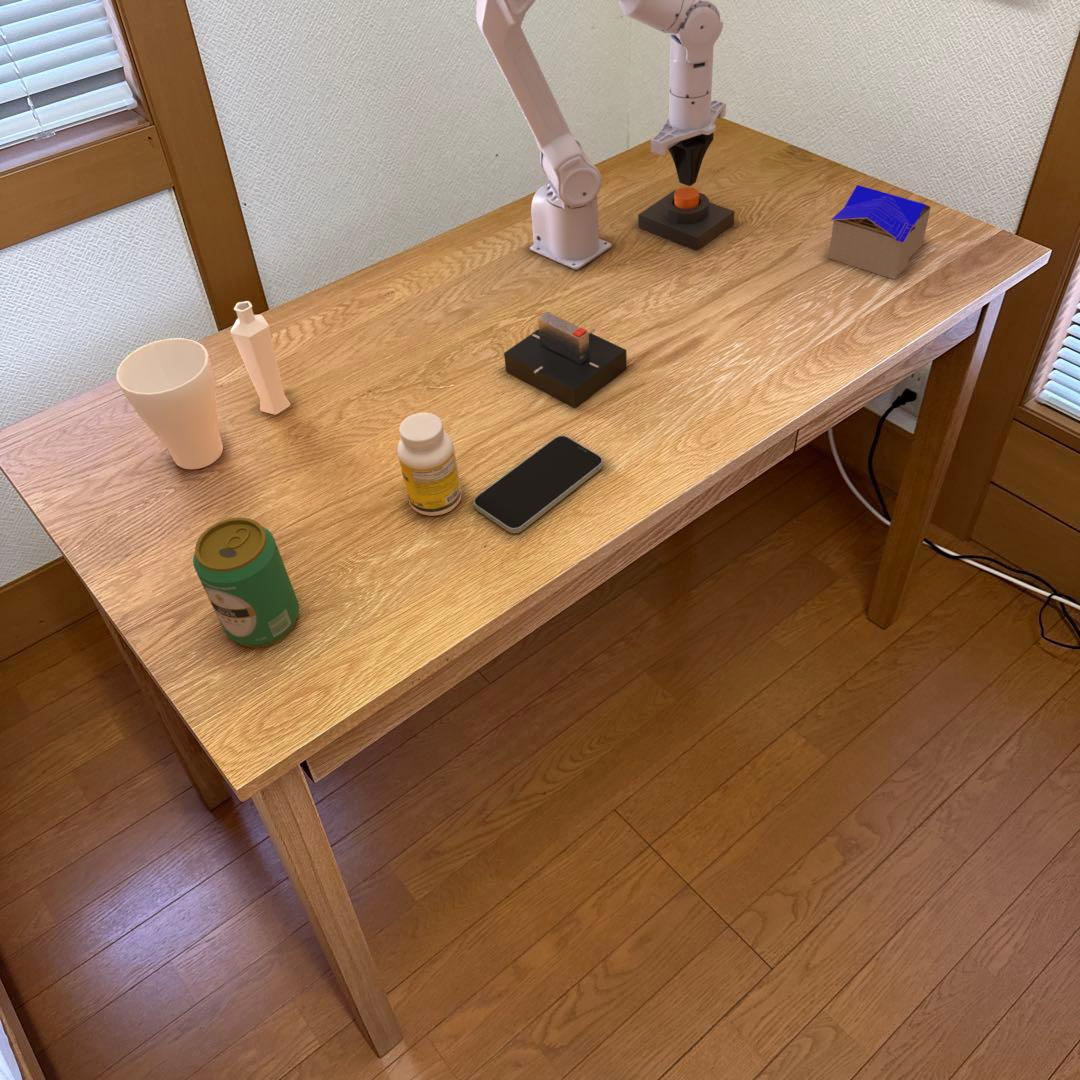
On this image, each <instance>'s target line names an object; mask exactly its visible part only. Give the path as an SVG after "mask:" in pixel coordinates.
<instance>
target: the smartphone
mask: <svg viewBox="0 0 1080 1080" xmlns="http://www.w3.org/2000/svg"><path fill="white" fill-rule="evenodd" d="M603 467H604V461H603V457H602V456H601V455H599V454H598V453H596V452H594V451H593V450H591V449H589V448H588V447H586V446H584V445H583V444H582V443H579V442H577V441H576V440H574V439H573V438H571V437H569V436H567V435H558V436H556V437H553V439H551V440H549V441H548V442H547V443H545V444H544V445H543V446H542V447H540V448H539V449H537V450H536V451H535V452H534V453H532V454H531V455H530V456H528V457H527V458H525V459H524V460H523V461H521V462H520V463H519V464H517V465H516V466H515V467H514V468H512V469H511V470H509V471H508V472H507V473H506V474H504V475H503V476H502V477H500V478H499V479H497V480H496V481H495V482H493V483H492V484H491V485H489V486H488V487H486V488H485V489H483V491H482V492H479V494H478V495H476V496H475V497H474V499H473V505H474V509H475V510H476V511H477V512H478V513H480V514H481V515H483V516H484V517H485V518H487V519H489V520H491V521H492V522H493V523H494V524H496V525H498V526H499V527H500V528H502V529H504V530H505V531H506V532H508V533H510V534H519V533H522V532H524V530H525V529H527V528H528V527H530V526H531V525H532V524H533V523H534V522H536V521H537V520H538V519H539V518H542V516H543V515H544V514H546V513H547V512H548V511H550V510H551V509H553V508H554V507H555V506H556V505H557V504H559V503H560V502H562V500H564V499H565V498H566V497H568V496H570V494H571V493H573V492H574V491H575V490H577V488H579V487H580V486H582V484H584V483H586V482H587V481H588V480H589V479H590V478H591V477H593V476H594V475H596V473H598V472H599V471H600V470H602V468H603Z"/></svg>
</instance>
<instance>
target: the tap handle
mask: <svg viewBox="0 0 1080 1080" xmlns="http://www.w3.org/2000/svg"><path fill="white" fill-rule="evenodd" d="M537 323H538V329H539V336H540V344H541V345H543V346H545V347H547V348H549V349H551V350H553V351H555V352H557V353H559V354H561V355H562V356H564V357H566V358H568V359H570V360H572V361H574V362H576V363H578V364H580V365H581V364H582V363H584V362H585V361H586V360H588V359H589V358H590V351H589V331H588V330H587V329H585V328H583V327H581V326H580V327H579V326H577V325H575V324H573V323H572V322H570V321H567V320H565V319H563V318H561V317H559V316H557V315H555V314H553V313H551V312H549V311H547V312H545V313H543V314H542V315H541V316H539V317H538V318H537Z"/></svg>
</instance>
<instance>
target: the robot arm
mask: <svg viewBox="0 0 1080 1080" xmlns="http://www.w3.org/2000/svg"><path fill="white" fill-rule="evenodd" d="M536 1H537V0H476V9H475V12H476V13H475V20H476V24H477V26H478V28H479V30H480V32H481V34H482V36H483V38H484V40H485V42H486V44H487V46H488V48H489V50H490V52H491V54H492V56H493V58H494V60H495V62H496V64H497V66H498V68H499V71H500V72H501V74H502V76H503V77H504V79H505V82H506V83H507V85H508V88H509V89H510V91H511V94H512V96H513V97H514V99H515V101H516V103H517V106H518V107H519V109H520V111H521V112H522V115H523V117H524V119H525V121H526V123H527V125H528V127H529V129H530V131H531V133H532V135H533V137H534V138H535V139H534V140H535V143H536V145H537V147H538V149H539V163H540V164H539V165H540V168H541V170H542V172H543V173H544V174H545V175H546V176H547V178H548V182H547V183H545V184H542V185H541V186H540V187H539V188H538V189H537V190H536V192H535V193H534V194H533V197H532V201H531V206H530V216H531V227H532V239H533V244H532V245H530V246H529V250H530V251H532V252H534V253H536V254H537V255H538V254H539V255H541V256H543V257H546V258H548V259H550V260H551V261H552V260H553V261H555V262H557V263H559V264H561V265H564V266H566V267H568V268H571V269H573V270H575V271H577V270H580V269H581V268H583V267H584V266H585V265H587V264H589V263H590V262H591V261H593V260H595V259H596V258H597V257H599V256H601V255H602V254H603V253H605V252H606V251H608V250H610V249H611V248H612V243H611V242H608V241H606V240H604V239H601V238H600V237H599V215H598V214H599V211H598V209H599V208H598V195H599V193H600V191H601V188H602V184H603V180H602V175H601V173H600V171H599V169H598V167H596V166H595V165H594V164H593V162H592V161H591V160H590V159H589V156H587V154H586V152H584V149H583V147H582V145H581V143H580V142H579V141H578V140H577V139H576V138H575V137H574V135H573V133H572V132H571V130H570V127H569V125H568V124H567V121H566V119H565V117H564V115H563V113H562V110H561V109H560V105H559V104H558V102H557V99H556V98H555V96H554V94H553V92H552V90H551V87H550V85H549V83H548V81H547V79H546V77H545V75H544V73H543V70H542V69H541V66H540V64H539V62H538V60H537V58H536V56H535V54H534V52H533V50H532V47H531V45H530V43H529V41H528V39H527V37H526V35H525V32H524V30H523V29H522V23H523V21H524V19H525V17H526V14H527V12H528V11H529V10H530V8H531V7H532V6H533V4H534V3H535V2H536ZM618 3H619V7H620V10H621V12H622V14H623V15H624V16H625V17H629V18H630V19H632V20H634V21H636V22H639V23H641V24H644V25H646V26H648V27H650V28H652V29H655V30H657V31H659V32H661V33H663V34H671V35H669V36H670V40H669V41H670V45H669V47H670V48H669V86H668V87H669V88H668V118H667V119H666V121H665V123H664V124H663V125H662V127H661V128H660V129H659V131H658V132H657V134H656V135H655V136H654V137H652V138H651V139H650V153H651V154H653V155H657V156H660V157H663V156H665V155H667V150H668V152H669V153H670V156H671V158H672V161H673V163H674V166H675V171H676V174H677V178H678V182H679V184H682V185H685V186H686V187H692V186H693V185H694V184H696V183H697V180H698V177H699V172H700V169H701V166H702V163H703V161H704V158H705V155H706V153H707V151H708V149H709V147H710V146H711V144H712V143H713V141H714V132H716V130H717V125H716V124H715V122H716V120H717V119H722V118H725V117H726V113H727V112H726V110H727V108H726V107H727V103H726V102H724V101H720V100H717V99H713V100H712V91H713V89H712V88H713V68H714V47H715V44H716V41H717V40H718V39H719V37H720V36H721V33H722V31H723V27H724V22H723V21H722V20H721V15H720V11H719V10H718V7H717V6H716V5H715V4H714V3H713V2H711V1H710V0H618Z"/></svg>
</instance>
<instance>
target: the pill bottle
mask: <svg viewBox="0 0 1080 1080" xmlns="http://www.w3.org/2000/svg"><path fill="white" fill-rule="evenodd" d="M398 432H399V435H400V440H399V442H398V444H397V452H396V453H397V458H398V461H399V467H400V470H401V474H402V479H403V483H404V487H405V491H406V495H407V500H408V503H409V505H410V507H411V508H412V509H413V510H414V511H415V512H416V513H418V514H420V515H424V516H429V517H430V516H431V517H433V516H434V517H435V516H441V515H444V514H447V513H450V512H451V511H453V510H454V509H455V508H456V507H457V506H458V504H459V503H460V502H461V499H462V493H463V492H462V485H461V479H460V474H459V469H458V462H457V458H456V453H455V446H454V442H453V439H452V437H451V436H450V434H449V433H447V432H446V431H445V430H444V425H443V422H442V419H441V418H440V417H439V416H438V415H436V414H434V413H431V412H417V413H413V414H410V415H408V416H407V417H405V418H404V420H402V422H401V423H400V425H399V431H398Z"/></svg>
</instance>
